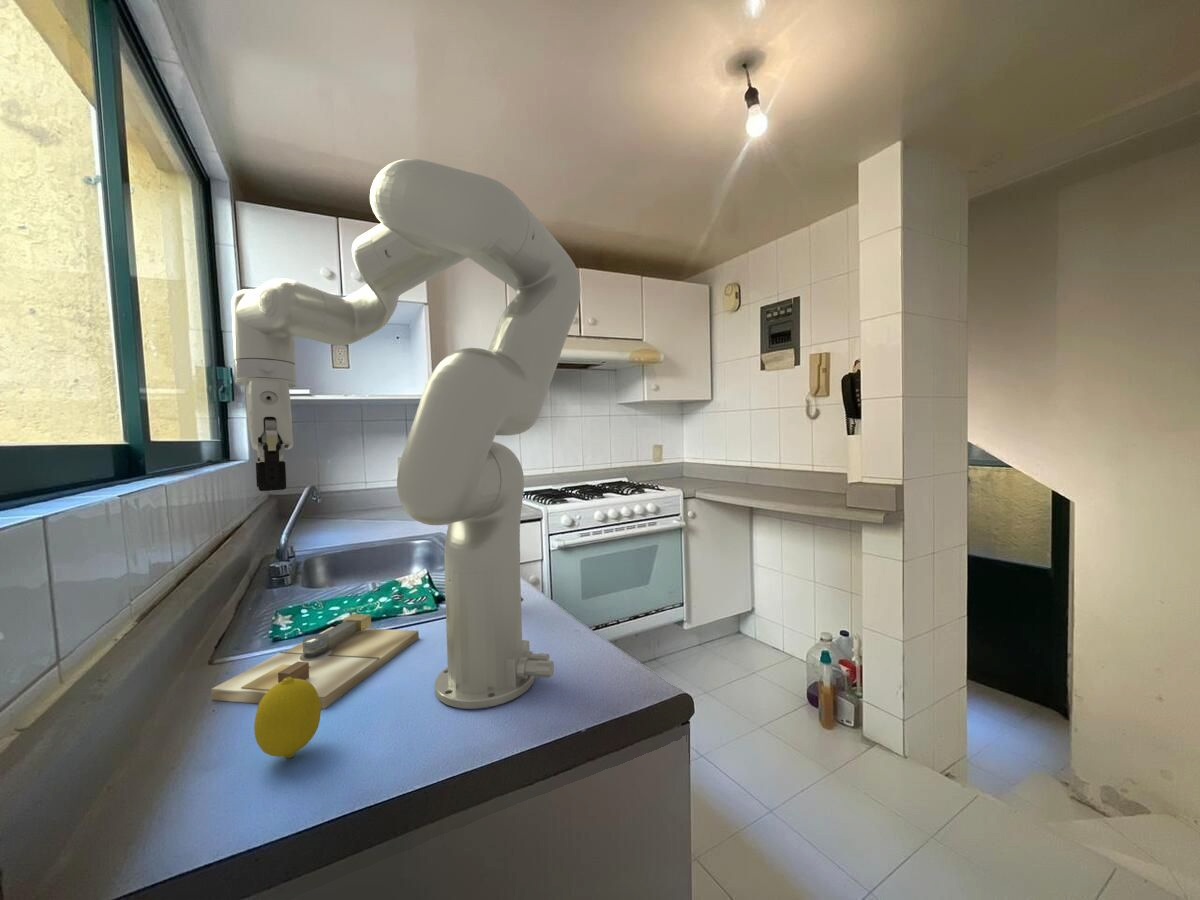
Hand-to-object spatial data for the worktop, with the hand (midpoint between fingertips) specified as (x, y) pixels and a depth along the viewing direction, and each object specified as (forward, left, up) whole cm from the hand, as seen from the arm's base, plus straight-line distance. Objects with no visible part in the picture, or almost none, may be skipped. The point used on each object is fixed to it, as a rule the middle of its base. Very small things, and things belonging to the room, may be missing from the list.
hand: (270, 488), depth 69 cm
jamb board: (-10, +2, -25) cm, 28 cm away
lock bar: (-8, -2, -24) cm, 25 cm away
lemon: (-21, +20, -26) cm, 39 cm away
